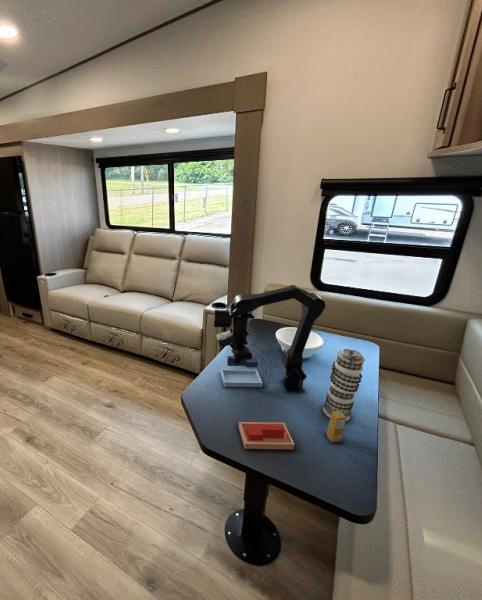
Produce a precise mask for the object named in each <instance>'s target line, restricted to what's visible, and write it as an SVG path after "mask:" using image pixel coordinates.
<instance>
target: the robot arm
mask: <svg viewBox="0 0 482 600" xmlns="http://www.w3.org/2000/svg"><path fill="white" fill-rule="evenodd" d="M289 300H295V301H297V302H299V303H300V304H301V317H300V319H299V322H298V325H297V327H296V328H297V331H296V333H295V336H294V339H293V342H292V345H291V347H290V349H288V350H283V351H282V355H281V356H280V360H281V363H282V365H283V367H284V369H285V373H284V374H283V378H282V380H281V382H282V385H283V386H284V388H285V390H286V391H287V392H304V391H305V390H304V388H303V385H304V384H303V383H304V381H305V380H306V379H307V377H308V376H307V374H306V372H305V370H304V369H303V363H304V362H303V359H304V358H302V354H303V351H304V348H305V345H306V343H307V340H308V337H309V335H310V332H311V331H312V330H313V327H314V324H315V322H316V320H318V318H320V317H321V315H322V314H323V313H324V311H325V310H326V305H327V304H326V302H325V300H324V299H322V297H321V296H320V295H318V294H317V293H315V292H308V291H307V290H305V289H303V288H300V287H299V286H297V285H295V284H291V285H289V286H285V287H280V288H277V289H272V290H267V291H264V292H260V293H249V292H248V293H239V294H237V295H235V296H234V298H233V301H232V303H230V304H229V306H228V307H227V309H218V308H217V309H214V311H213V315H212V327H213V328H223V329H225V328H227V329H228V328H229V329H228V330H227V331H223V332H221V333H217V334H216V336H215V337H216V339H217V342H218V345H219V347H220V348H225V347H227V346H229V347H230V348H231V353H232V354H233V356H234V357H235V362H236V364H239V363H240V362H241V360H242V359H252V357H253V352H252V350H251V349H250V347H247V346H248V344H249V343H248V336H249V335H250V332H249V321H250V319H253V320H254V319H255V318H256V317H255V315H254V313H253V312H254V311H256V310H257V309H258V308H260V307H264V306H268V305H272V304H275V303H281V302H285V301H289Z"/></svg>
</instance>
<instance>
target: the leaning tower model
mask: <svg viewBox="0 0 482 600" xmlns="http://www.w3.org/2000/svg"><path fill="white" fill-rule="evenodd" d="M336 355H337V356H336V360H335V361H332V365H331V366H332V367H331V372H330V376H329V378H330V379H329V385H330V386H329V388H328V391H327V393H326V397H325V400H324V404H323V409H322V410H323V413H324V414H325V415H326V417H328V418H331V414H332V412H334V411H341V412H342V413H343V415H344V416H346V422H347V421H349V420H350V417H351V414H352V411H353V407H354V403H355V401H354V399H355V393H357V392H358V391H359V388H360V383H361V382H362V379H363V375H362V374H361V373H362V371H363V370H364V368H363V364H364V363H365V362H366V358H365V357H364V356H363V354H362V353H361V352H359V351H358V350H356V349H352V348H344V349H341V350H339V351H337V354H336Z"/></svg>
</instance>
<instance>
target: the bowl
mask: <svg viewBox="0 0 482 600" xmlns="http://www.w3.org/2000/svg"><path fill="white" fill-rule="evenodd" d="M297 328H298V327H294V326H293V327H291V326H290V327H289V326H288V327H282V328H279V329H278V330H276V332H275V337H276V339H277V343H278V344H279V345H280V347H281V350H282V352H283V350H288V349H290V347H291V345H292V342H293V339H294V336H295V333H296V331H297ZM324 344H325V342H324V339H323V337H322V336H320V335H319V334H317V333H316V332H314V331H312V330H311V332H310V335H309V337H308V340H307V343H306V345H305V348H304V351H303V354H302V358H303V359H309V358H311V357H312V356H313V354H314V353H316V352H317V351H319V350H320V349H321V348H322V346H323V345H324Z"/></svg>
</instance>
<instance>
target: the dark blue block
mask: <svg viewBox="0 0 482 600" xmlns="http://www.w3.org/2000/svg"><path fill="white" fill-rule="evenodd" d="M226 360H227V361H226V365H227V367H245V368H258V366H259V361H258V360H257V357H255V356H252V359H242V360H241V362H240V363H239V364H236V362H235V357H234V355H227V359H226Z"/></svg>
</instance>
